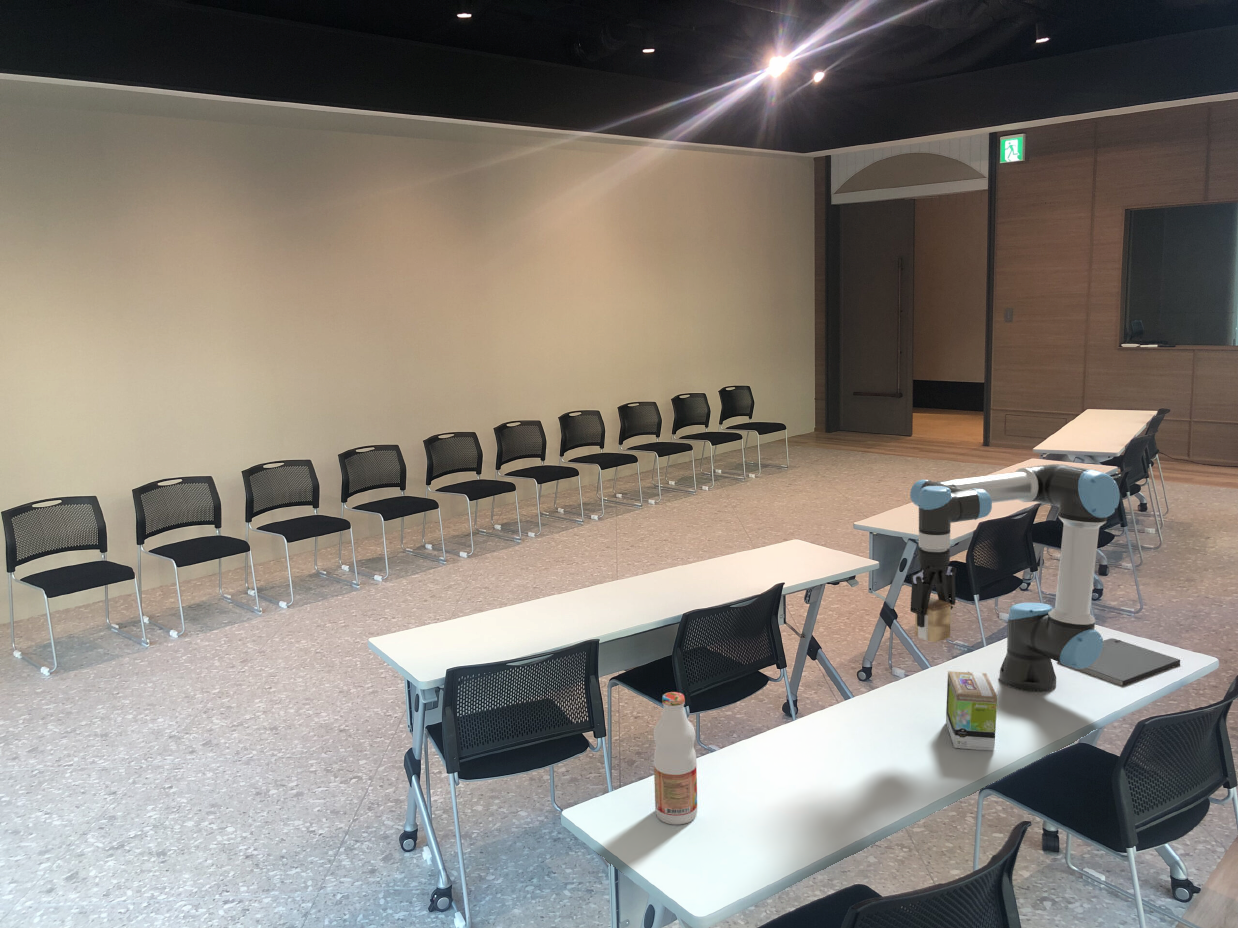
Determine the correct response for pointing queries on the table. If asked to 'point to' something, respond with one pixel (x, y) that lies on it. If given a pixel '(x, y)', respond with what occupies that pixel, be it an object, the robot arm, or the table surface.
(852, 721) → the table surface
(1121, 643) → the notebook
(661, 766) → the fruit juice
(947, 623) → the oak block
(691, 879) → the table surface
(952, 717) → the tea box
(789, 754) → the table surface
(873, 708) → the table surface
